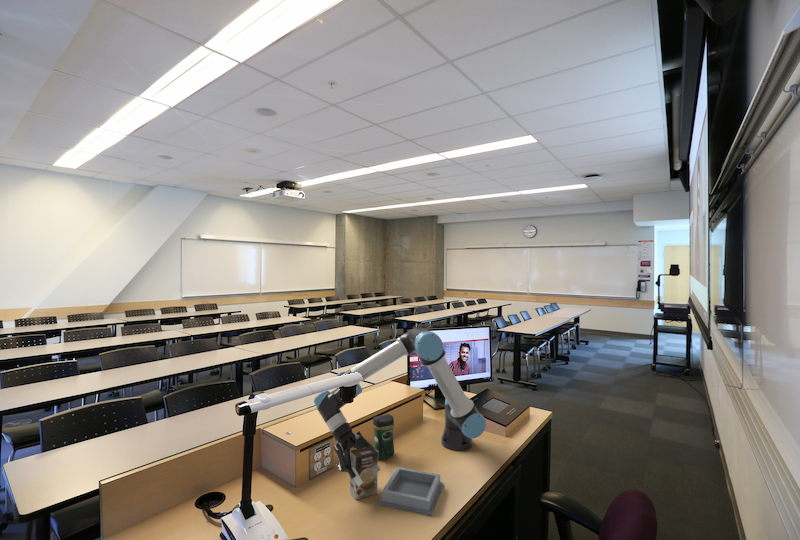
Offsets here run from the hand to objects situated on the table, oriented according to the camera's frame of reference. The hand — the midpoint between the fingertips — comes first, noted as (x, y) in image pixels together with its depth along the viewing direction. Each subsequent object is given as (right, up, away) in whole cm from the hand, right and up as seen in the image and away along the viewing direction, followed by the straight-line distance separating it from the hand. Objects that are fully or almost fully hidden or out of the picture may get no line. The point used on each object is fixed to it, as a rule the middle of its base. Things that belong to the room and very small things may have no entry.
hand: (369, 477), depth 144 cm
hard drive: (-13, -7, +24) cm, 28 cm away
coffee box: (-3, -7, +2) cm, 8 cm away
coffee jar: (+4, -7, +30) cm, 31 cm away
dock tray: (+16, -7, +1) cm, 18 cm away
